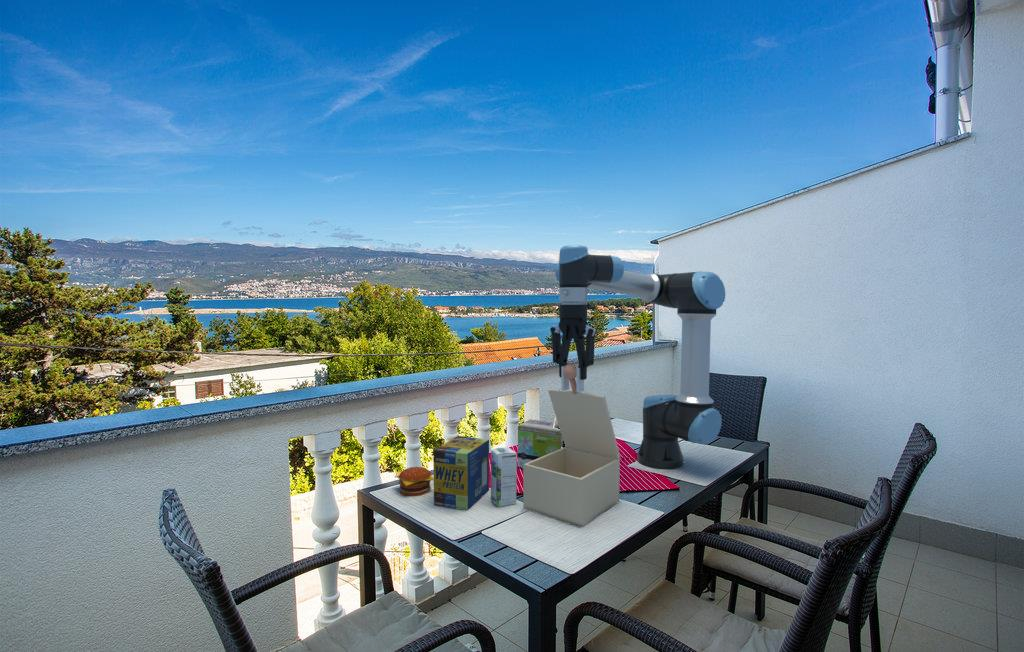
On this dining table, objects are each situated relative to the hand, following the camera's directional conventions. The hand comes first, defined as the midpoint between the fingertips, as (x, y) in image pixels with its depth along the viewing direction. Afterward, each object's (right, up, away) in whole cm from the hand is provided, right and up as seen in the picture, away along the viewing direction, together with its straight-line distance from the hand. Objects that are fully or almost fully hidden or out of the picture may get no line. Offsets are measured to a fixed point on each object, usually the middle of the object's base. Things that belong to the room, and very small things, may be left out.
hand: (572, 390), depth 132 cm
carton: (0, -31, +1) cm, 32 cm away
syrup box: (-19, -32, +4) cm, 37 cm away
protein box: (-30, -32, +7) cm, 44 cm away
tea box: (-6, -30, +32) cm, 44 cm away
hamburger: (-45, -31, +13) cm, 56 cm away
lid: (+2, -7, +2) cm, 7 cm away
